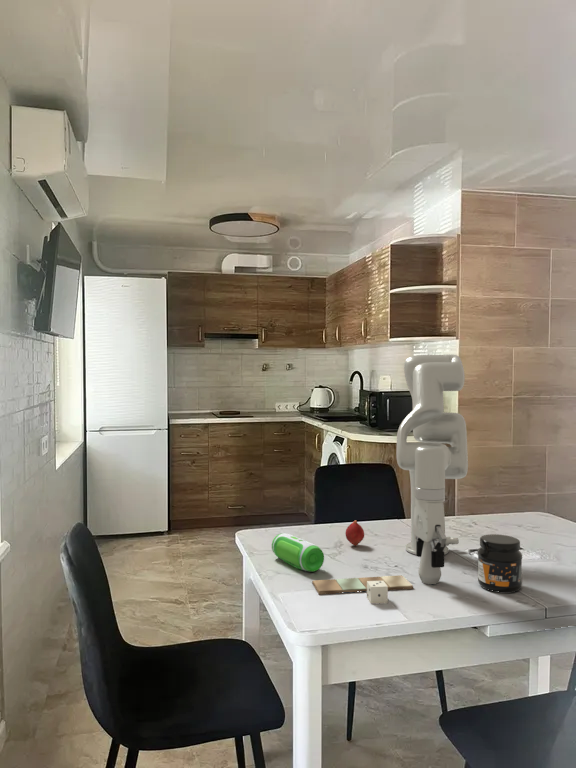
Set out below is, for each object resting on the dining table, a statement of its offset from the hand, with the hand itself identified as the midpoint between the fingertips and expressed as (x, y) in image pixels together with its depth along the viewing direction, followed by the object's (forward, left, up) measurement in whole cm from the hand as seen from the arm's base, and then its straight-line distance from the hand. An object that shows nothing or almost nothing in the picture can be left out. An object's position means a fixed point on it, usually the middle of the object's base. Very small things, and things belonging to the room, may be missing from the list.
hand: (429, 561), depth 151 cm
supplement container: (-16, +5, -6) cm, 18 cm away
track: (+18, -1, -6) cm, 19 cm away
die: (+17, +9, -6) cm, 20 cm away
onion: (+10, -36, -6) cm, 37 cm away
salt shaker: (0, -1, -6) cm, 6 cm away
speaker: (+31, -20, -6) cm, 37 cm away
